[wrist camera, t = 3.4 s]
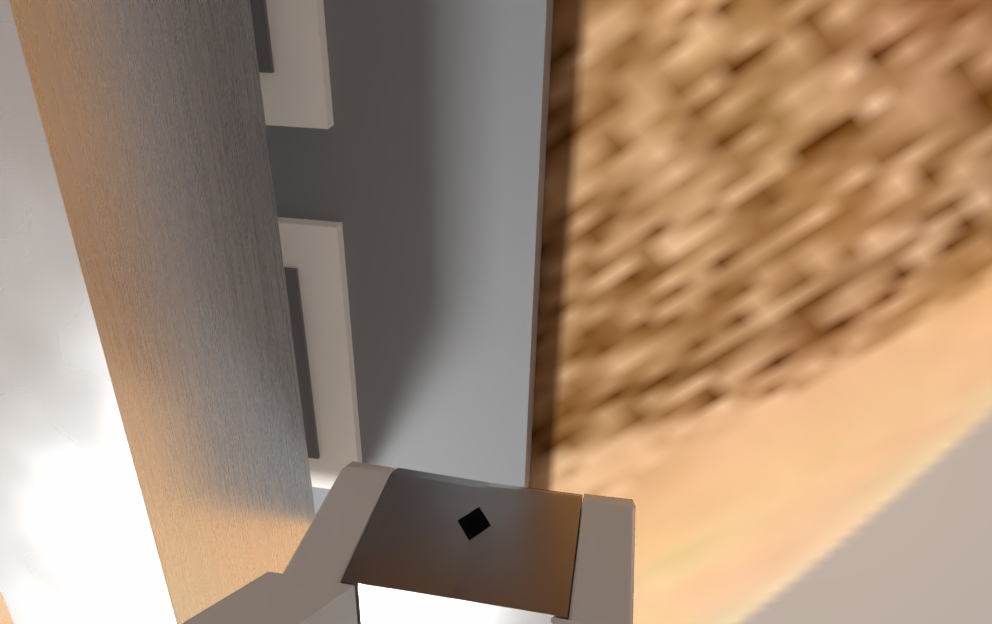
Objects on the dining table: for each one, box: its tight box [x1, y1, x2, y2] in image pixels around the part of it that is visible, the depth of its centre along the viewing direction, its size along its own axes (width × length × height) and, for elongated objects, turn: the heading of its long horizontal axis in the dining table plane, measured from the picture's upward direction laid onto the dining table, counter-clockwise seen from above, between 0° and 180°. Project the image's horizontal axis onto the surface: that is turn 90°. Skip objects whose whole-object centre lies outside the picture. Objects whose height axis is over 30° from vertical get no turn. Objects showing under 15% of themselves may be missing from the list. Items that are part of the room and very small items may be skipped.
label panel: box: [250, 0, 554, 514], centre depth 16 cm, size 19×16×2 cm
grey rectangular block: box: [0, 0, 316, 624], centre depth 11 cm, size 23×4×8 cm, turn 179°
